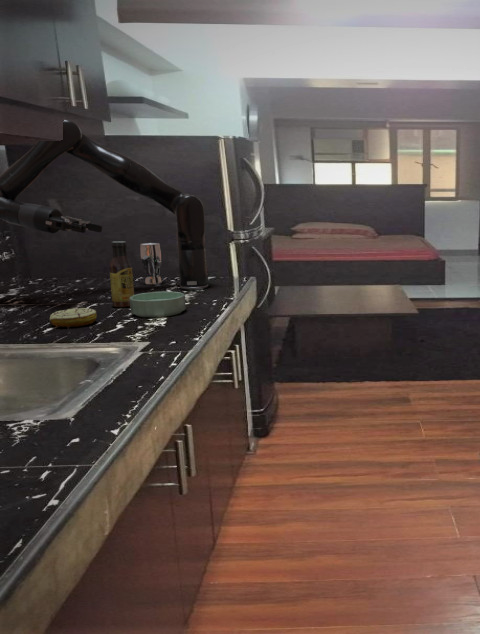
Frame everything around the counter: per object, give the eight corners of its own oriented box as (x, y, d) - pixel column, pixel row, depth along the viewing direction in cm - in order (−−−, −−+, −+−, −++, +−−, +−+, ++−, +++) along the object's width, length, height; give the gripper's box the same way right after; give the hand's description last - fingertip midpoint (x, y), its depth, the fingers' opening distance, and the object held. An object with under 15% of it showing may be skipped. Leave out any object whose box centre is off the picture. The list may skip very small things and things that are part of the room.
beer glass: (158, 285, 222) (155, 244, 219) (139, 285, 222) (136, 244, 219) (166, 282, 229) (163, 243, 226) (148, 282, 229) (145, 242, 226)
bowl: (152, 306, 185) (150, 290, 184) (195, 308, 182) (194, 292, 181) (119, 316, 171) (117, 299, 169) (166, 319, 168) (165, 301, 167)
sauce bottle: (126, 308, 181) (119, 243, 177) (108, 307, 182) (101, 242, 178) (140, 304, 187) (134, 241, 183) (122, 303, 189) (116, 240, 184)
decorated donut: (66, 319, 167) (64, 306, 166) (104, 319, 166) (103, 306, 166) (42, 328, 156) (40, 314, 156) (83, 328, 156) (82, 314, 156)
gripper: (25, 205, 172) (81, 216, 173) (56, 206, 186) (107, 217, 187) (23, 230, 174) (78, 242, 174) (54, 229, 188) (105, 240, 188)
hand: (93, 229), depth 180 cm, fingers open, 8 cm apart
